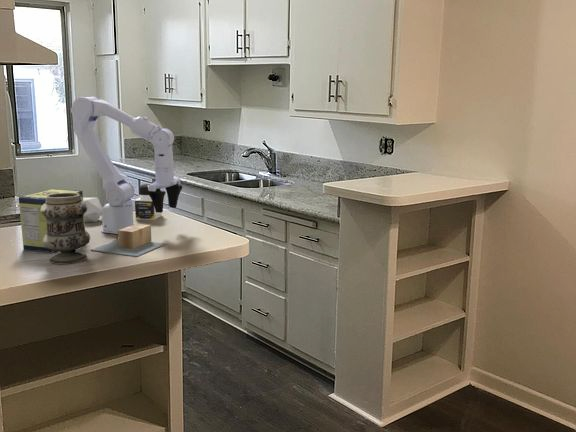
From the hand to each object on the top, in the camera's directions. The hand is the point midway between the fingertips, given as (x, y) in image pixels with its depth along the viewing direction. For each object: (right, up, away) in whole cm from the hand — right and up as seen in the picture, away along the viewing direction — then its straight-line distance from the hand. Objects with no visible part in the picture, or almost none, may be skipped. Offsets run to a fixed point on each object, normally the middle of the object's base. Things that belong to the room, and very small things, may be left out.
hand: (166, 209), depth 190 cm
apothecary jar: (-21, -14, -27) cm, 37 cm away
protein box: (-30, -11, -13) cm, 35 cm away
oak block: (-5, -7, -10) cm, 13 cm away
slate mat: (-8, -11, -16) cm, 21 cm away
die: (-30, -4, +18) cm, 35 cm away
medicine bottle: (-11, -3, +22) cm, 25 cm away
